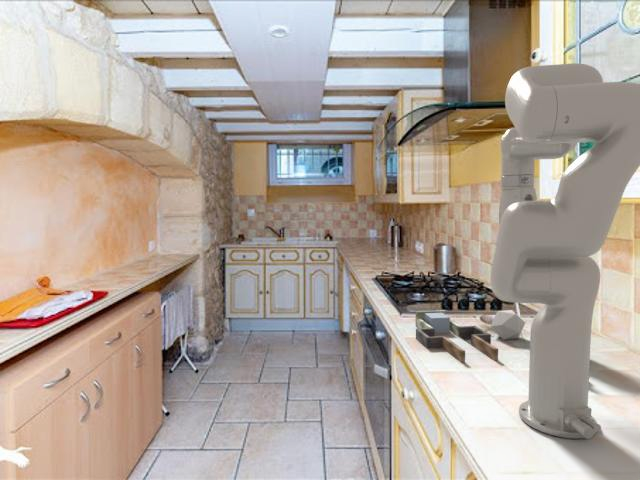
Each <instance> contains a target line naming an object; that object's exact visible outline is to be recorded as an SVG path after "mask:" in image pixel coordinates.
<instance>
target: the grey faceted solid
mask: <svg viewBox="0 0 640 480" xmlns="http://www.w3.org/2000/svg"><path fill="white" fill-rule="evenodd" d="M525 326H526V322H525V320H524V319H522V318H521V317H520V316H519V315H518V314H517V313H516V312H515V311H514V310H512V309H510V310H509V309H508V310H506V309H505V310H497V311H496V313H495V315H494V318H493V319H492V322H491V324H490V326H489V327H490V329H492V330H493V331H494V333H496V334H497V336H499V337H500V338H501V339H502V340H503V341H507V340H516V339H519V338H520V336H521V334H522V333H523V332H522V331H523V329H524V328H525Z"/></svg>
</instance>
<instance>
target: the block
mask: <svg viewBox="0 0 640 480" xmlns="http://www.w3.org/2000/svg"><path fill="white" fill-rule="evenodd" d="M450 320H451V317H450V316H448V315H447V314H446V315H445V314H443V313H425V322H426V323H427V324H429V325H430V326H431V327H433V328H434V329H435V334H447V333H450V332H451V331H450Z"/></svg>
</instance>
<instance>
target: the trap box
mask: <svg viewBox="0 0 640 480" xmlns="http://www.w3.org/2000/svg"><path fill="white" fill-rule="evenodd" d="M425 313H443V314H445V315H447V314H446V313H447V311H446V309H440V310H418V311H416V310H415V327H416V328H415V339H416V340H417V341H418V342H420V344H422V346H424V347H425V348H426V349H440V348H442V349H444V351H446V352H448V353H449V354H450V356H452V357H454V358H455V359H456V360H457V361H458V362H460V363H466V350H465V349H463V348H462V347H460V346H459V345H458V344H456V343H455V342H453V341H452V339H450V338H448V337H447V336H445V335H436V336H435V334H436V333H435V329H434V328H433V327H431V326H430V325H429V324H427V323H426V322H425ZM450 332H451V333H453V334H455V336H457V337H459V338H460V339H462V340H464V341H465V342H466V343H468V344H469V345H471V346H472V347H473V348H474V349H476V350H478V351H480V352H481V353H483V354H484V355H485V356H487V357H488V358H490V359H491V360H492V361H499V348H497V347H496V346H494V345H492V344H491V342H492V340H491V339H492V335H491V333H489V332H487V331H486V330H484V329H482V328H480V327H478V325H477V326H476V325H466V326H462V325H460V324H458V323H457V322H456V321H453V320H452V319H450Z"/></svg>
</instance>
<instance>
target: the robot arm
mask: <svg viewBox="0 0 640 480" xmlns="http://www.w3.org/2000/svg"><path fill="white" fill-rule="evenodd" d="M504 105H505V110H506V113H507V115H508V118H509V121H511V123H512V124H513V126H514V127H511V128H509V129H507V130H506V131H505V132H504V134H503V135H502V136H501V138H500V152H501V171H500V172H501V174H500V178H501V179H500V190H501V193H500V197H499V205H498V207H499V208H498V224H499V227H498V230H497V231H498V232H497V238H496V242H495V249H494V254H493V257H492V264H491V270H490V271H491V272H490V286H491V291H492V293H493V294H494V296H495V297H496V298H497V299H498V300H500V301H503V302H507V303H514V304H515V303H516V304H541V305H543V306H542V307H541V308H540V309H539V311H538V312H537V313H536V314H535V316H534V318H533V319H532V322H531V325H530V337H529V339H530V340H529V371H528V372H529V373H528V400H526V401H523V402H522V403H521V404H520V405H519V407H518V415H519V417H520V419H521V420H522V421H523V422H524V423H525V424H527V425H528V426H530V427H532V428H533V429H535V430H537V431H539V432H542V433H544V434H547V435H551V436H555V437H559V438H564V439H587V440H588V439H589V440H590V439H592V438H593V437H594V435H595V434H596V433H599V432H600V431H601V429H602V427H601V425H600V424H599V423H598V422H597V420H596V418H594V417H593V415H592V408H591V407H590V406H589V390H590V389H589V387H590V384H589V383H590V365H591V364H590V362H591V361H590V360H591V342H592V341H591V340H592V339H591V338H592V323H593V314H594V308H595V304H596V300H597V296H598V293H599V288H600V285H601V271H600V267H599V265H598V263H597V262H596V261H595V260H594V259H593V258H592V257H591V256H593V255H595V254H597V253H598V252H599V251H600V250H601V248H602V247H603V246H604V243H605V241H606V239H607V237H608V234H609V232H610V229H611V227H612V224H613V222H614V220H615V216H616V214H617V212H618V210H619V206H620V204H621V201H622V197H623V194H624V192H625V190H626V188H627V187H628V184H629V182H630V181H631V179H632V178H633V176H634V175H635V174H636V172H637V170H638V169H639V167H640V83H636V82H626V81H625V82H624V81H609V82H608V81H606V82H605V81H604V80H603V76H602V74H601V73H600V71H599V70H598V69H596V68H595V67H594V66H592V65H590V64H585V63H575V62H574V63H573V62H572V63H561V64H549V65H548V64H545V65H534V66H533V65H531V66H527V67H526V66H525V67H523V68H521V69H519V70H517V71H516V72H515V73H514V74H513V75H512V76H511V78H510V80H509V81H508V83H507V87H506V90H505V99H504ZM578 143H593V146H592V147H590V148H589V149H588V150H585V152H583V153H581V155H579V156H578V157H577V158H576V159H575V160H574V161H573V162H572V163H571V164H570V165H568V167H567V168H566V169H565V170H564V172H563V174H562V175H561V177H560V180H559V184H558V189H557V192H556V194H555V196H554V197H553V198H552V199H549V200H548V199H547V200H538V198H537V191H536V188H535V169H536V168H535V165H536V164H535V163H536V160H556V159H560V158H564V157H565V156H567V155H568V154H569V153H571V152H572V151H573V150H574V149H575V148H576V147H577V144H578Z"/></svg>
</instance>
